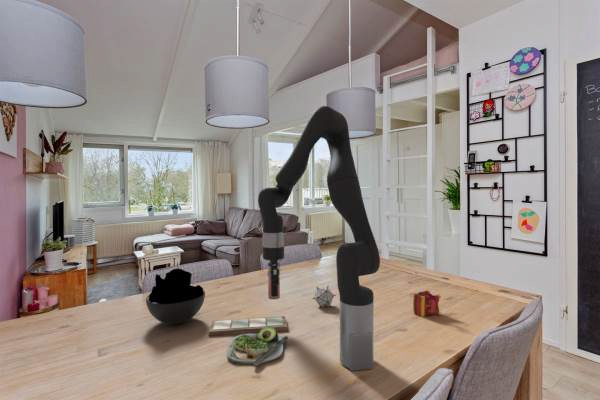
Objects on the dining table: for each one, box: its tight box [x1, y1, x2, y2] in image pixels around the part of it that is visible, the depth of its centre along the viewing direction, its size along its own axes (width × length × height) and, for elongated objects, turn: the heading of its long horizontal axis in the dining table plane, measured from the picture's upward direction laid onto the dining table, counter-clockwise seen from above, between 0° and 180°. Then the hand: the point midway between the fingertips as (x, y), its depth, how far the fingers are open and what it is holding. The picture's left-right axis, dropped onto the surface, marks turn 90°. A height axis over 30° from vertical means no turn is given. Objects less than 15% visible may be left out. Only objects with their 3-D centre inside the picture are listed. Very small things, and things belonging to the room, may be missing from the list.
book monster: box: [412, 289, 442, 318], centre depth 123 cm, size 11×9×12 cm
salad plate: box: [226, 327, 289, 367], centre depth 97 cm, size 19×18×5 cm
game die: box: [311, 285, 337, 309], centre depth 134 cm, size 9×8×10 cm
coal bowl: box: [145, 268, 206, 325], centre depth 119 cm, size 20×20×19 cm
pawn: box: [266, 269, 281, 300], centre depth 114 cm, size 4×4×11 cm
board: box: [208, 315, 289, 337], centre depth 114 cm, size 9×26×2 cm, turn 98°
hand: (274, 293), depth 115 cm, fingers closed on pawn, 4 cm apart
